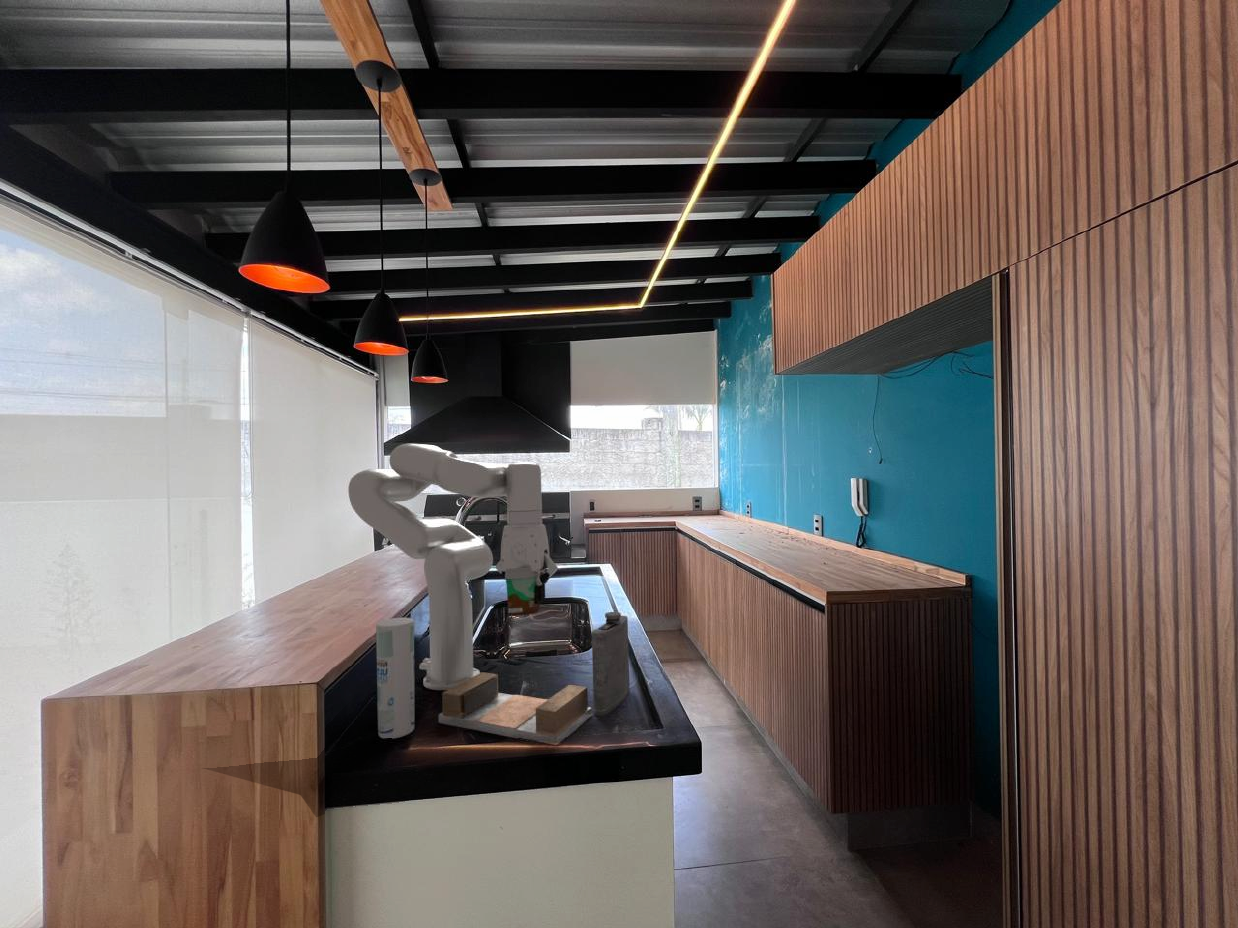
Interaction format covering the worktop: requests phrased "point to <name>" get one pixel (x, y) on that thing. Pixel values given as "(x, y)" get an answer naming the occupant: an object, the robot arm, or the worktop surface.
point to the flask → (610, 663)
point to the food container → (521, 591)
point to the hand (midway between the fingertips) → (527, 601)
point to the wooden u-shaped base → (514, 710)
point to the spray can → (395, 677)
